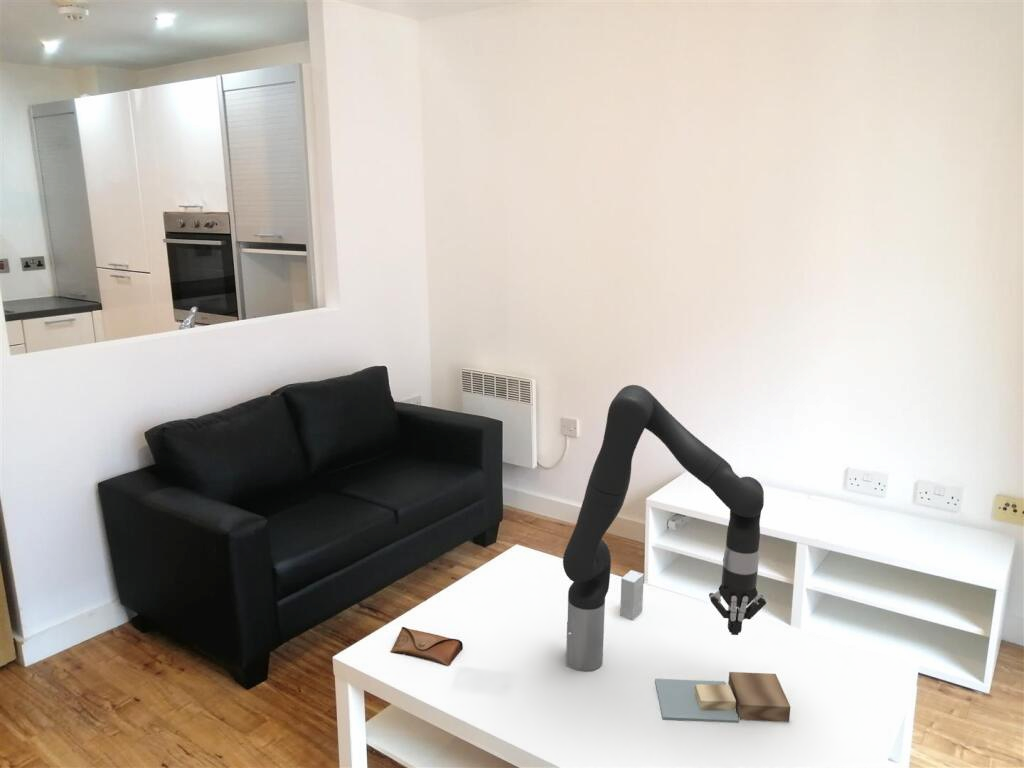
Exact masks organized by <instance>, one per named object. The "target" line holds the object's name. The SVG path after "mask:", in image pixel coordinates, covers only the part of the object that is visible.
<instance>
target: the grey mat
mask: <svg viewBox="0 0 1024 768" xmlns="http://www.w3.org/2000/svg"><path fill="white" fill-rule="evenodd" d="M654 683H655V689H656V693H657V698H658V702H659V708H660V712H661V718H662V721H663V720H665V721H666V720H667V721H668V720H670V721H671V720H672V721H686V720H687V721H689V722H691V721H692V722H712V723H713V722H715V723H734V724H735V723H736V724H737V723H739V721H740V719H739V717H738V714H737V711H736V710H735V711H714V710H700V707H699V705H698V702H697V699H696V696H695V684H709V685H727V682H726V681H724V680H723V681H721V680H702V679H701V680H697V679H678V678H677V679H674V678H671V679H670V678H655V679H654Z"/></svg>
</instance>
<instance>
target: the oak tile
mask: <svg viewBox="0 0 1024 768" xmlns="http://www.w3.org/2000/svg"><path fill="white" fill-rule="evenodd" d="M695 696H696V699H697V702H698V705H699V707H700V710H714V711H736V700H735V697H734V695H733V693H732V691H731V688H730V686H729V685H728V684H726V685H709V684H695Z"/></svg>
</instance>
